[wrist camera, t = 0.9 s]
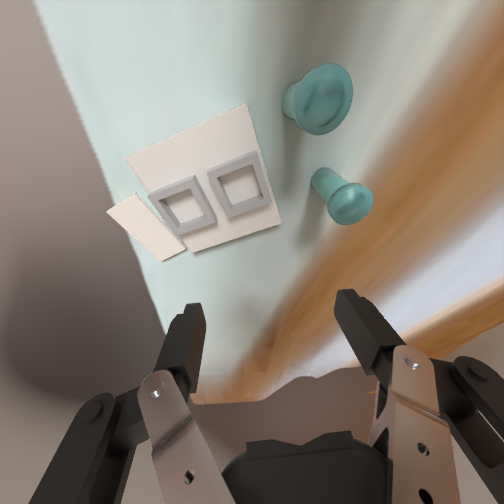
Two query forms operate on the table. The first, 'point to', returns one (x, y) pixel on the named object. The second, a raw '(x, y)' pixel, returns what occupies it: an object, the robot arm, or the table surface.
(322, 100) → the teal flared handle
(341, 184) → the teal round-knobbed peg
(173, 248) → the lid
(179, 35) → the table surface
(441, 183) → the table surface
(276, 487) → the robot arm
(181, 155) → the housing
